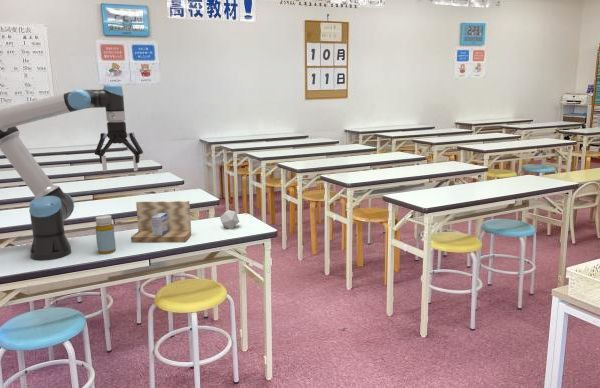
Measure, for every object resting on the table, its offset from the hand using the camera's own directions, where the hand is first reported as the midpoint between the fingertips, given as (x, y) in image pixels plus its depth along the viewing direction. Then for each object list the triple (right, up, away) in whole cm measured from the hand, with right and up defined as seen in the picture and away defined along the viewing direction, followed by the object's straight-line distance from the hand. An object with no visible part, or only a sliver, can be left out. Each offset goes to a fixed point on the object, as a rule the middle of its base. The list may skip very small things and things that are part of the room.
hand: (120, 170), depth 221 cm
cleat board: (+16, -30, +9) cm, 35 cm away
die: (+44, -26, +26) cm, 58 cm away
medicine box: (+15, -28, +8) cm, 33 cm away
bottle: (-3, -34, -8) cm, 35 cm away
